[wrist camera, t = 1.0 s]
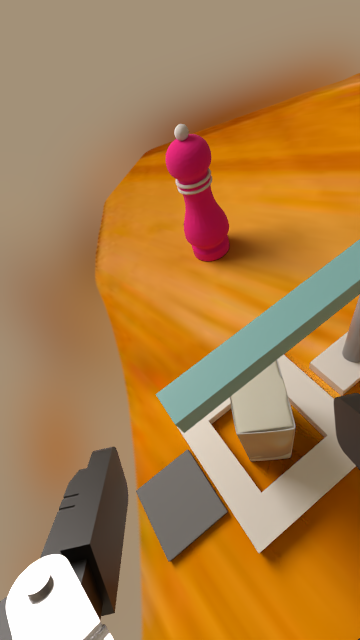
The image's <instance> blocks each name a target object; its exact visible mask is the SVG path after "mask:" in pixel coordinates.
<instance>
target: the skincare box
mask: <svg viewBox="0 0 360 640" xmlns="http://www.w3.org/2000/svg"><path fill="white" fill-rule="evenodd" d="M230 403H231V408H232V414H233V419H234V424H235V429H236V434H237V436H238V437H239V439H240V441H241V443H242V445H243V447H244V449H245V451H246V453H247V455H248V457H249V459H250V461H266V460H278V459H287V458H290V457H291V454H292V448H293V441H294V435H295V429H296V425H295V421H294V417H293V414H292V410H291V406H290V402H289V399H288V395H287V391H286V387H285V384H284V380H283V377H282V373H281V370H280V366H279V363H278V359H277V360H276V361H275V362H273V363H272V364H271V365H270V366H268V367H267V368H266V369H265V370H263V371H262V372H261V373H260V374H258V375H257V376H256V377H255V378H253V379H252V380H251V381H249V382H248V383H247V384H246V385H244V386H243V387H242V388H241V389H239V390H238V391H237V392H236V393H234V394H233V395H232V396H231V397H230Z"/></svg>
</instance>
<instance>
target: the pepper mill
mask: <svg viewBox="0 0 360 640" xmlns="http://www.w3.org/2000/svg"><path fill="white" fill-rule="evenodd" d="M174 134H175V137H176V140H174V141H173V142H172V143H171V144H170V146H169V148H168V150H167V153H166V165H167V169H168V171H169V173H170V174H171V176H173V177H174V178H176V185H177V186H178V191H179V192H180V193H182V194H183V196H184V200H185V206H186V213H185V220H184V232H185V236H186V239H187V241H188V242H189V243H190V244H191V245H192V248H193V251H194V254H195V256H196V257H197V258H198V259H200V260H202V261H214V260H217V259H219V258H221V257H222V256H224V255H225V254H226V253H227V252H228V250H229V246H230V244H229V239H228V235H227V233H228V231H229V223H228V219H227V217H226V215H225V213H224V211H223V210H222V209H221V208H220V207H219V205H218V204H217V203H216V201H215V199H214V197H213V194H212V191H211V186H210V184H211V182H212V176H211V171H210V169H209V168H208V167H209V165H210V163H211V151H210V148H209V146H208V144H207V142H206V141H205V140H204V139H203V138H202V137H200V136H198V135H194V134H189V131H188V128H187V127H186V126H185V125H184V124H179V125H178V126H177V127H176V128H175V131H174Z"/></svg>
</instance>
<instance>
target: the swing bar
mask: <svg viewBox="0 0 360 640" xmlns="http://www.w3.org/2000/svg"><path fill="white" fill-rule="evenodd" d="M359 294H360V240H358V241H357V242H356V243H354V244H353V245H352V246H350V247H349V248H348V249H346V250H345V251H344V252H343V253H341V254H340V255H339V256H337V257H336V258H335V259H333V260H332V261H331V262H329V263H328V264H327V265H325V266H324V267H323V268H322V269H320V270H319V271H318V272H316V273H315V274H314V275H312V276H311V277H310V278H308V279H307V280H306V281H304V282H303V283H302V284H300V285H299V286H298V287H297V288H295V289H294V290H293V291H291V292H290V293H289V294H287V295H286V296H285V297H283V298H282V299H281V300H279V301H278V302H277V303H275V304H274V305H273V306H272V307H270V308H269V309H268V310H266V311H265V312H264V313H262V314H261V315H260V316H258V317H257V318H256V319H254V320H253V321H252V322H250V323H249V324H248V325H247V326H245V327H244V328H243V329H241V330H240V331H239V332H237V333H236V334H235V335H233V336H232V337H231V338H229V339H228V340H227V341H225V342H224V343H223V344H222V345H220V346H219V347H218V348H216V349H215V350H214V351H212V352H211V353H210V354H208V355H207V356H206V357H204V358H203V359H202V360H200V361H199V362H198V363H197V364H195V365H194V366H193V367H191V368H190V369H189V370H187V371H186V372H185V373H183V374H182V375H181V376H179V377H178V378H177V379H175V380H174V381H173V382H172V383H170V384H169V385H168V386H166V387H165V388H164V389H162V390H161V391H160V392H158V393H157V394H156V395H157V397H158V399H159V400H160V402H161V403H162V405H163V406H164V408H165V409H166V411H167V413H168V414H169V416H170V417H171V419H172V420H173V422H174V423H175V425H176V426H177V427H178V428H179V429H180V430H181V431H182V432H183V433H185V432H187V431H188V430H189V429H190V428H192V427H193V426H194V425H195V424H197V423H198V422H199V421H200V420H202V419H203V418H204V417H205V416H207V415H208V414H209V413H210V412H212V411H213V410H214V409H216V408H217V407H218V406H219V405H221V404H222V403H223V402H224V401H226V400H227V399H228V398H229V397H231V396H232V395H233V394H234V393H236V392H237V391H238V390H239V389H241V388H242V387H243V386H244V385H246V384H247V383H248V382H249V381H251V380H252V379H253V378H255V377H256V376H257V375H258V374H260V373H261V372H262V371H263V370H265V369H266V368H267V367H268V366H270V365H271V364H272V363H273V362H275V361H276V360H277V359H278V358H280V357H281V356H282V355H283V354H285V353H286V352H287V351H289V350H290V349H291V348H292V347H294V346H295V345H296V344H297V343H299V342H300V341H301V340H302V339H304V338H305V337H306V336H307V335H309V334H310V333H311V332H312V331H314V330H315V329H316V328H317V327H319V326H320V325H321V324H322V323H324V322H325V321H326V320H328V319H329V318H330V317H331V316H333V315H334V314H335V313H336V312H338V311H339V310H340V309H341V308H343V307H344V306H345V305H346V304H348V303H349V302H350V301H351V300H353V299H354V298H355V297H356V296H358V295H359Z"/></svg>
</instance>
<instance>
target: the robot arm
mask: <svg viewBox="0 0 360 640" xmlns="http://www.w3.org/2000/svg"><path fill="white" fill-rule="evenodd" d="M334 416H335V428H336V437H337V440H338V443H339V445H340V447H341V449H342V450H343V452H344V453H345V454H346V455H347V457H348V458H349V459H350V460H351V461H352V462H353V463H354V464H355V465H356V466H357V467H358V469H359V470H360V394H358V393H354V394H349V395H345V396H340V397H336V398H335V399H334ZM127 506H128V489H127V483H126V479H125V476H124V472H123V469H122V466H121V462H120V459H119V456H118V452H117V450H116V448H115V447H110V448H106V449H101V450H97V451H93V453H92V455H91V458H90V461H89V464H88V467H87V468H86V469H82V470H79V471H78V473H77V474H76V475H75V476H74V477H73V479H72V480H71V481H70V482H69V484H68V487H67V489H66V492H65V494H64V499H63V500H62V502H61V505H60V507H59V512H58V513H57V515H56V518H55V520H54V523H53V526H52V528H51V531H50V534H49V536H48V539H47V541H46V544H45V546H44V549H43V552H42V554H41V557H40V559H39V560H37V561H36V562H34V563H33V564H31V565H30V566H29V567H28V568H27V569H26V570H25V571H24V572H23V573H22V574H21V575H20V576H19V578H18V579H17V580H16V582H15V583H14V585H13V587H12V588H11V590H10V593H9V595H8V597H6V598H4V599H3V600H2V601H0V640H114V639H113V638H112V636H111V635H110V632H109V630H108V629H107V627H106V626H105V625H102V624H101V622H100V619H101V616H104V615H108V614H112V613H115V605H116V597H117V589H118V581H119V571H120V564H121V556H122V547H123V539H124V530H125V522H126V513H127ZM358 640H360V638H359V639H358Z"/></svg>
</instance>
